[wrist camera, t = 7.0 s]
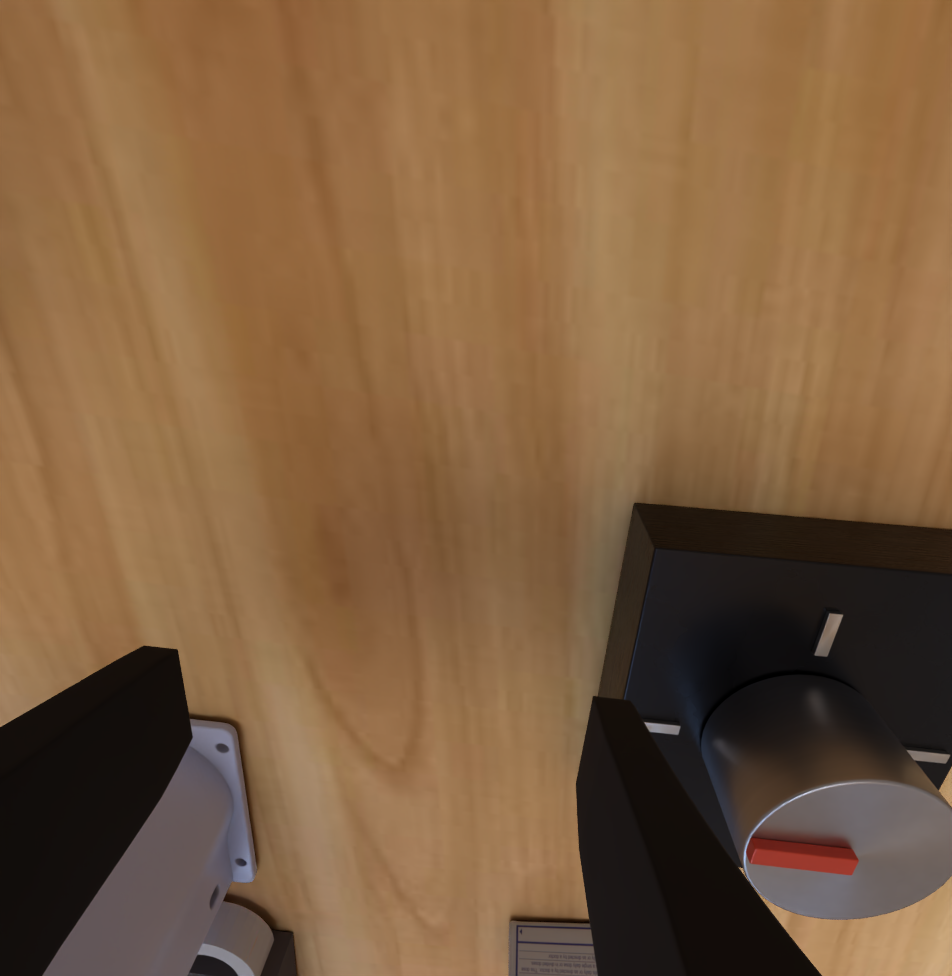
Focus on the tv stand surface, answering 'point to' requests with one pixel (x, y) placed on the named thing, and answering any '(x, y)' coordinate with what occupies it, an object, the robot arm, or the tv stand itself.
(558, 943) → the medicine box
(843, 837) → the programme dial
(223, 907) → the electronic device
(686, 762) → the dial panel
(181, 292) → the tv stand surface
